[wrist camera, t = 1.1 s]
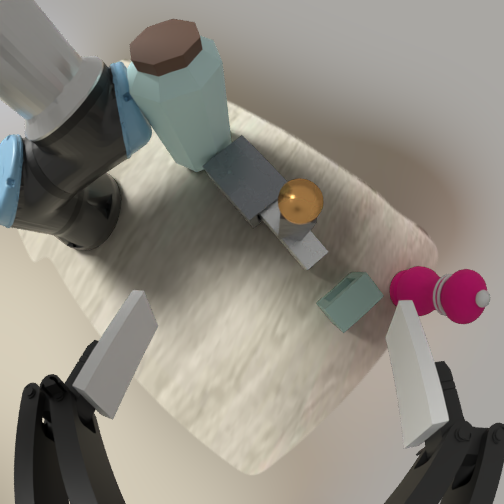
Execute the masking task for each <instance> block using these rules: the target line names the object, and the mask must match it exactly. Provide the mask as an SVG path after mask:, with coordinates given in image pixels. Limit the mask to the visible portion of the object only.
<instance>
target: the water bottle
mask: <svg viewBox="0 0 504 504" xmlns="http://www.w3.org/2000/svg"><path fill="white" fill-rule="evenodd" d="M130 52H131V61H132V62H131V63H130V65H129V66H128V68H127V74H128V83H129V92H130V95H131V96H132V98H133V99H134V101H135V102H136V104H137V105H138V107H139V108H140V110H141V111H142V113H143V114H144V116H145V117H146V119H147V120H148V122H149V123H150V125H151V126H152V128H153V129H154V131H155V132H156V134H157V135H158V137H159V138H160V140H161V141H162V143H163V144H164V146H165V147H166V149H167V150H168V152H169V153H170V155H171V156H172V157H173V159H174V160H175V162H176V163H178V164H180V165H182V166H184V167H186V168H189V169H191V170H193V171H195V172H198V171H201V170H204V168H203V167H202V166H203V165H204V164H206V163H207V162H208V161H209V160H211V159H212V158H213V157H214V156H216V155H217V154H218V153H219V152H221V151H222V150H223V149H224V148H226V147H227V146H228V145H230V144H231V143H232V142H231V134H230V125H229V116H228V107H227V98H226V90H225V80H224V71H223V63H222V60H221V58H220V55H219V53H218V51H217V48H216V46H215V43H214V41H213V40H211V39H208V38H205V37H202V36H200V35H199V32H198V30H197V27H196V24H195V23H194V22H189V21H183V20H177V19H171V20H168V21H164V22H161V23H159V24H155V25H153V26H150V27H147V28H146V29H145V30H144V31H143V32H142V33H141V34H140V35H139V36H138V37H137V38H136V39H135V40H134V41H133V42H132V43H131V44H130Z"/></svg>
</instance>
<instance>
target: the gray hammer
mask: <svg viewBox="0 0 504 504" xmlns="http://www.w3.org/2000/svg"><path fill="white" fill-rule="evenodd" d="M322 208H323V195H322V193H321V191H320V189H319V188H318V186H317V185H316V184H314V183H313V182H311V181H309V180H306V179H293V180H291V181H289V182H287V183H286V184H283V187H282V188H281V190H280V192H279V195H278V199H277V200H275V201H274V202H273V203H272V204H271V205H269V206H268V207H267V208H266V209H264V210H263V211H262V212H261V213H260V214H258V216H259V217H260V218H261V219H262V220H263V222H264V223H265V224H266V225H267V226H268V227H269V228H270V230H271V231H272V232H273V233H274V234H275V235H276V237H277V238H278V239H279V240H280V241H281V242H282V244H283V245H284V246H285V247H286V248H287V250H288V251H289V252H290V253H291V254H292V255H293V257H294V258H295V259H296V260H297V261H298V263H299V264H300V265H301V266H302V267H303V269H304V270H308V269H310V268H311V267H312V266H313V265H314V264H315V263H316V262H318V261H319V260H320V259H321V258H322V257H323V256H324V255H326V254H327V253H328V251H327V250H326V248H325V247H324V246H323V245H322V244H321V242H320V241H319V240H318V239H317V238H316V236H315V235H314V234H313V233H312V232H311V231H310V230H311V229H312V228H313V227H314V225H315V224H316V221H317V216H318V215H319V214H320V212H321V210H322Z"/></svg>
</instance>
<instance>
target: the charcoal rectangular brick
mask: <svg viewBox="0 0 504 504" xmlns="http://www.w3.org/2000/svg"><path fill="white" fill-rule="evenodd" d="M202 167H203V168H204V170H205V171H206V173H207V174H208V175H209V177H210V178H211V180H212V181H213V182H214V183H215V185H216V186H217V187H218V188H219V189H220V190H221V192H222V193H223V194H224V195H225V196H226V197H227V198H228V200H229V201H230V202H231V203H232V204H233V205H234V207H235V208H236V209H237V210H238V211H239V212H240V214H241V215H242V216H243V217H244V218H245V219H246V221H247V222H248V223H249V224H250V225H251V226H252V228H254V227H256V226H257V225H258V224H259V223H260V222H262V221H263V220H262V219H261V218H260V217H259V216H258V214H260V213H261V212H262V211H263V210H264V209H266V208H267V207H268V206H269V205H271V204H272V203H273V202H274V201H275V200H277V199H278V195H279V192H280V190H281V188H282V187H283V184H286V183H287V181H286V180H285V179H284V178H283V177H282V176H281V175H280V173H279V172H278V171H277V170H276V169H275V168H274V167H273V166H272V165H271V164H270V163H269V162H268V161H267V160H266V159H265V158H264V157H263V156H262V155H261V154H260V153H259V152H258V151H257V150H256V149H255V148H254V147H253V146H252V145H251V144H250V143H249V142H248V141H247V140H246V139H245V138H244V137H243V136H242V135H241V136H240V137H239V138H238V139H236V140H235V141H234V142H232V143H231V144H230V145H228V146H227V147H226V148H224V149H223V150H222V151H221V152H219V153H218V154H217V155H216V156H214V157H213V158H212V159H211V160H209V161H208V162H207V163H206V164H204V165H203V166H202Z"/></svg>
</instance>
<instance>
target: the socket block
mask: <svg viewBox="0 0 504 504" xmlns="http://www.w3.org/2000/svg"><path fill="white" fill-rule="evenodd" d="M383 296H384V295H383V294H382V293H381V291H380V290H379V289H378V287H377V286H376V285H375V283H374V282H373V281H372V279H371V278H370V277H369V275H368V274H367V273H366V272H351V273H350V274H349V275H347V276H346V277H345V278H344V279H343V280H342V281H341V282H340V283H339V284H337V285H336V286H335V287H334V288H333V289H332V290H331V291H330V292H328V293H327V294H326V295H325V296H324V297H323V298H322V299H320V300H319V301H318V302H317V303H316V304H317V305H318V306H319V307H320V309H321V310H322V311H323V312H324V313H325V315H326V316H327V317H328V318H329V319H330V321H331V322H332V323H333V324H334V325H335V326H336V327H337V328H339V329H340V330H341V331H342V332H343V333H344V332H345V331H347V330H348V329H349V328H350V327H351V326H352V325H353V324H355V323H356V322H357V321H358V320H359V319H360V318H361V317H362V316H363V315H364V314H366V313H367V312H368V311H369V310H370V309H371V308H372V307H373V306H374V305H375V304H376V303H377V302H378V301H379V300H380V299H381V298H382V297H383Z"/></svg>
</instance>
